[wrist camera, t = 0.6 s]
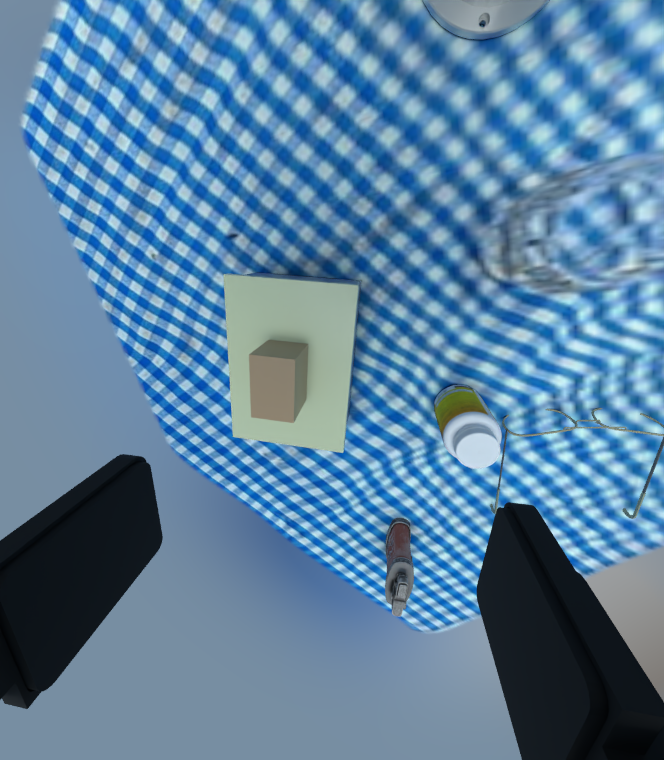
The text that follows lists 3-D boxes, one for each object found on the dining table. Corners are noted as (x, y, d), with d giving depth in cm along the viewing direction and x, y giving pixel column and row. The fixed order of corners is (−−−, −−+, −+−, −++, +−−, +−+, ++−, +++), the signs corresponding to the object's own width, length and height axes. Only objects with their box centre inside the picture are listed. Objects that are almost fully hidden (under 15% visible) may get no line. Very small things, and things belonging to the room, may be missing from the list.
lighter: (404, 559, 51) (408, 628, 41) (382, 555, 51) (381, 622, 42) (413, 519, 48) (419, 584, 38) (390, 515, 48) (390, 578, 39)
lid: (235, 272, 33) (194, 278, 26) (360, 282, 31) (352, 292, 24) (242, 425, 40) (211, 463, 33) (345, 440, 38) (336, 482, 31)
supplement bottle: (423, 403, 41) (434, 449, 31) (459, 373, 39) (482, 413, 29) (454, 432, 41) (473, 485, 32) (491, 404, 39) (523, 453, 30)
